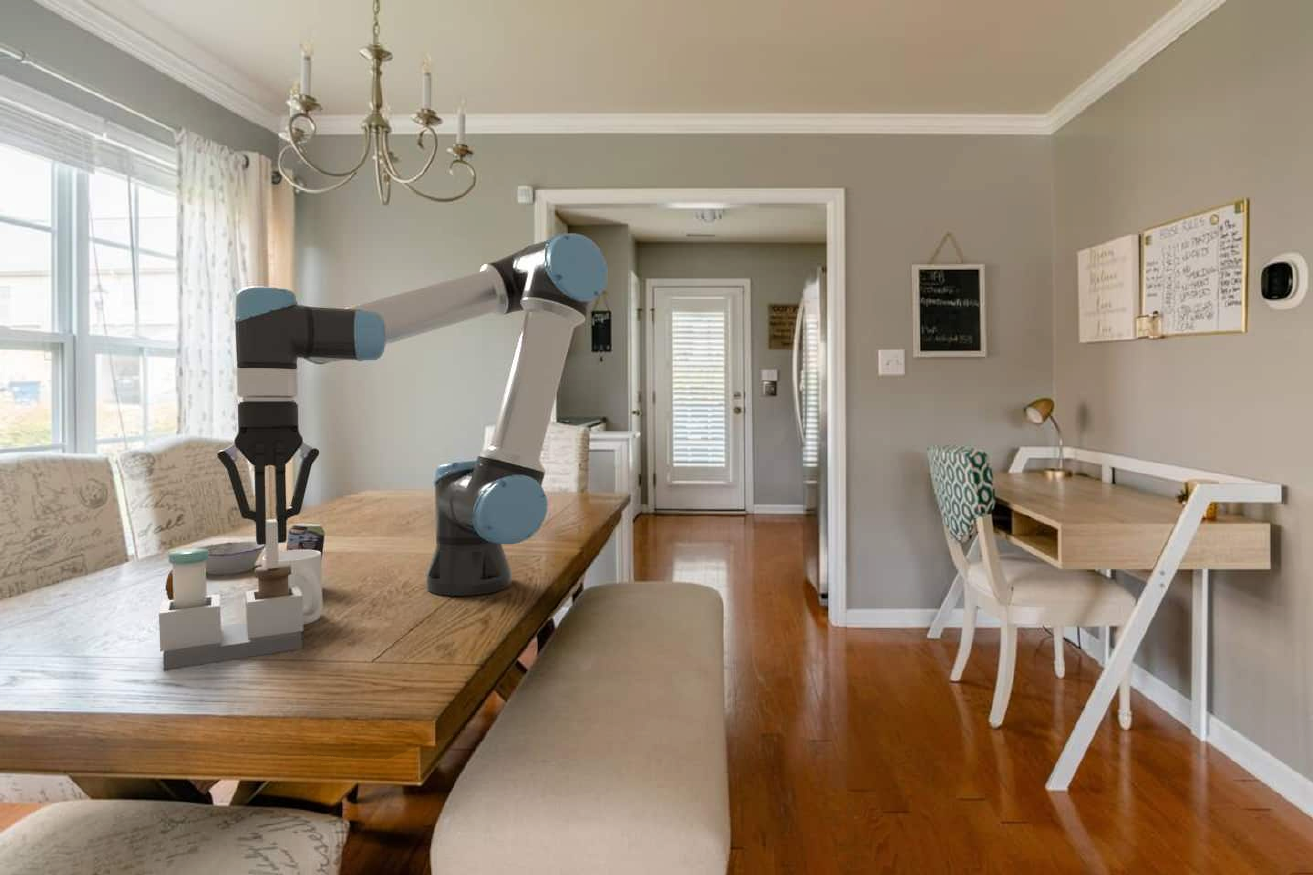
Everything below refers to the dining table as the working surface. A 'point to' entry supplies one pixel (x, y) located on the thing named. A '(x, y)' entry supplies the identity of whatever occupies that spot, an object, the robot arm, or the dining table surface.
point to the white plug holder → (230, 630)
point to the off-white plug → (189, 577)
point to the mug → (305, 579)
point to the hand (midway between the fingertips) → (272, 566)
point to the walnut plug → (273, 581)
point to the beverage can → (306, 537)
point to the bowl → (232, 557)
